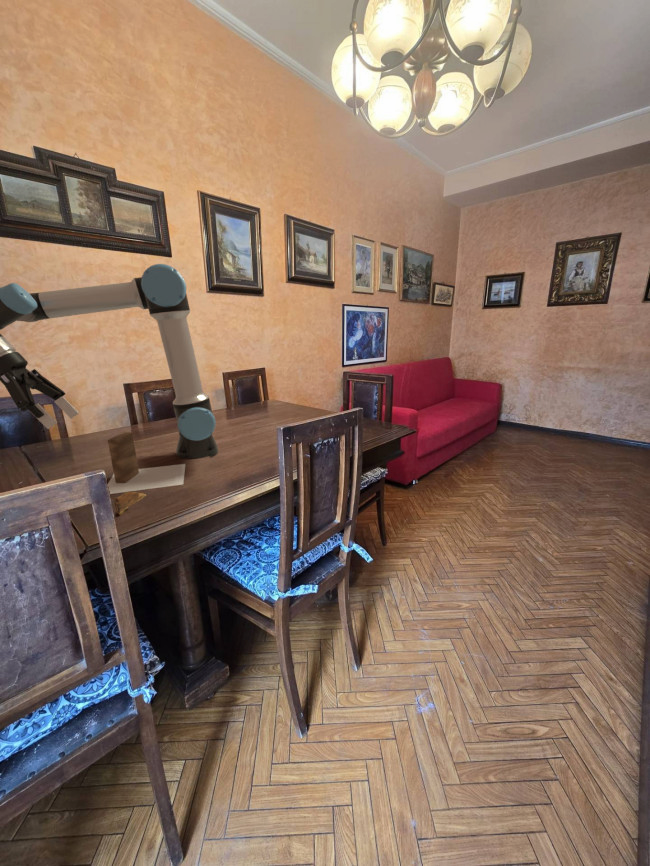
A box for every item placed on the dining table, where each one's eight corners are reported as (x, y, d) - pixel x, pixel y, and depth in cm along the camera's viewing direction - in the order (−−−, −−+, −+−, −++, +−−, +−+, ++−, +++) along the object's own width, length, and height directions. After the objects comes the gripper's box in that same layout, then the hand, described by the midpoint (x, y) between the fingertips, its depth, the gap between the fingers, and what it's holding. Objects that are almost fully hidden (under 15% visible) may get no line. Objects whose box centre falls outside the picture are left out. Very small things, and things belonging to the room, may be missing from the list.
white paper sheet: (185, 465, 123) (185, 463, 123) (183, 486, 107) (183, 484, 107) (115, 473, 116) (114, 471, 116) (101, 497, 100) (101, 495, 100)
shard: (119, 518, 90) (118, 511, 90) (95, 514, 92) (93, 508, 91) (148, 498, 100) (147, 493, 100) (126, 496, 102) (125, 490, 102)
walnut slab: (115, 483, 108) (107, 440, 104) (130, 472, 115) (123, 432, 111) (125, 483, 108) (117, 440, 104) (139, 472, 115) (132, 432, 111)
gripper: (18, 363, 105) (73, 419, 112) (-46, 369, 82) (29, 439, 89) (39, 349, 105) (92, 405, 112) (-18, 351, 82) (54, 422, 89)
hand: (64, 420), depth 100 cm, fingers open, 13 cm apart
